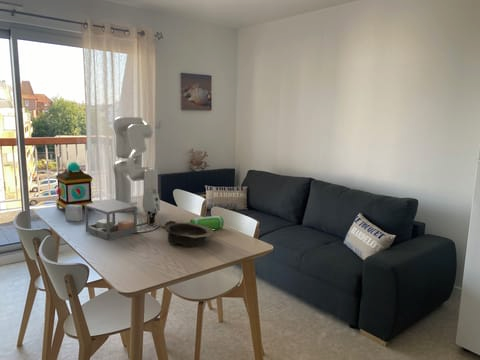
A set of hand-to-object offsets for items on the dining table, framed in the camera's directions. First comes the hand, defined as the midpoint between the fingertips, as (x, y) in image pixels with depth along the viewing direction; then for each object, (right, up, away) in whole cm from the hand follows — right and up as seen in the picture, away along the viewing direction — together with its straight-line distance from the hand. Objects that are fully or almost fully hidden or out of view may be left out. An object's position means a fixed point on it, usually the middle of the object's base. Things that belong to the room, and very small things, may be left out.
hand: (150, 222), depth 205 cm
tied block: (-6, -2, -7) cm, 9 cm away
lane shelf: (-17, -3, -14) cm, 22 cm away
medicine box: (-44, +1, +3) cm, 45 cm away
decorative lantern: (-54, +6, +26) cm, 60 cm away
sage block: (-22, -2, -12) cm, 25 cm away
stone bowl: (+25, -7, -24) cm, 35 cm away
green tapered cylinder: (+32, -4, -5) cm, 32 cm away
